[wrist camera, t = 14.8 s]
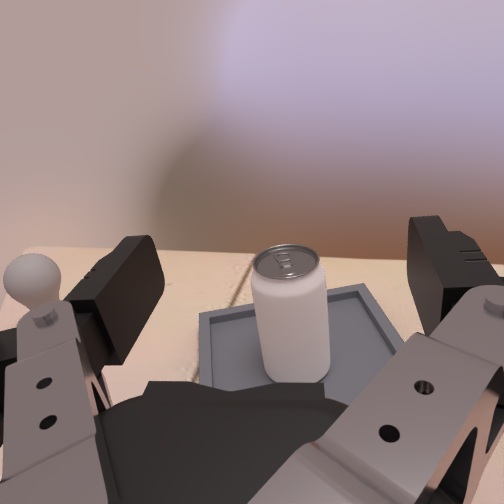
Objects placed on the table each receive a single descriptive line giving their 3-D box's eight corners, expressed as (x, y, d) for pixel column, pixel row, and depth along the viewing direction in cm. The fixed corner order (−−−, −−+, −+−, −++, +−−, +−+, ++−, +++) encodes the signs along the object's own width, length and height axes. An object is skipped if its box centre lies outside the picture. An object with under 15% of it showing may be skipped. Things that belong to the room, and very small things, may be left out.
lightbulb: (79, 309, 56) (49, 239, 50) (83, 334, 51) (50, 258, 45) (32, 326, 54) (-4, 254, 48) (31, 353, 49) (-9, 276, 43)
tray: (363, 298, 49) (363, 283, 48) (456, 441, 32) (459, 422, 31) (202, 327, 48) (198, 313, 47) (205, 491, 31) (199, 474, 30)
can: (270, 397, 36) (252, 287, 31) (260, 348, 42) (243, 249, 36) (339, 383, 37) (335, 272, 31) (320, 337, 42) (313, 236, 37)
